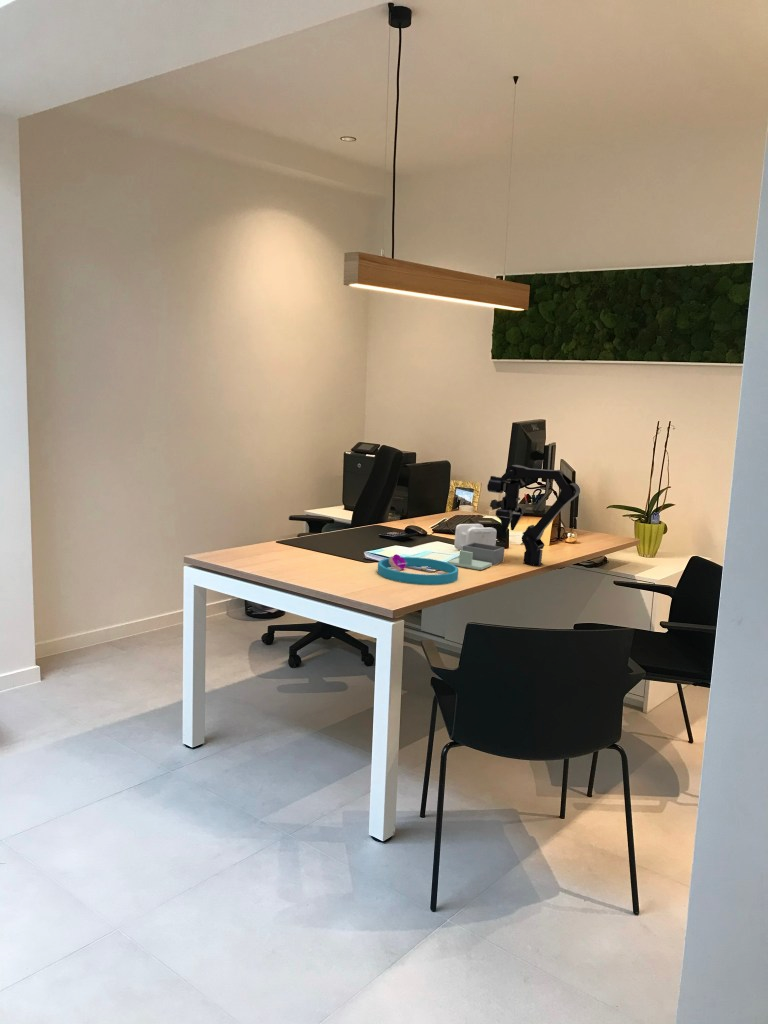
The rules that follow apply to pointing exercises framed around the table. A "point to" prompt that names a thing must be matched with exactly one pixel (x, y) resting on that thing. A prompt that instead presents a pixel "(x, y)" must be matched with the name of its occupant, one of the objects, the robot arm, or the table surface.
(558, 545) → the table surface
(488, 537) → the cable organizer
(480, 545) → the parts tub
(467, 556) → the lid
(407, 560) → the teal ring
